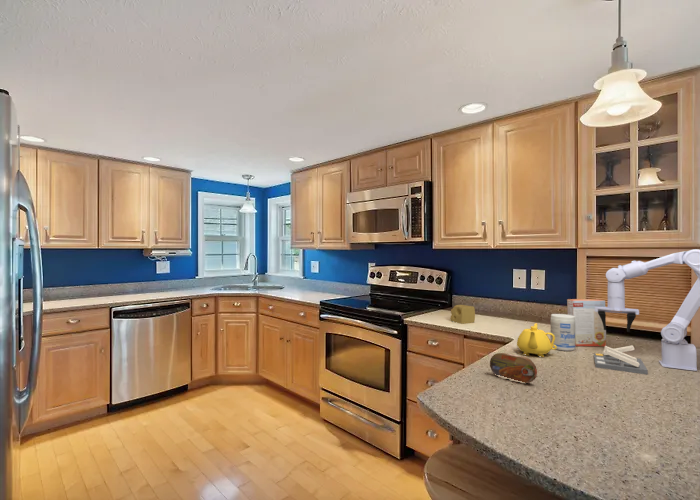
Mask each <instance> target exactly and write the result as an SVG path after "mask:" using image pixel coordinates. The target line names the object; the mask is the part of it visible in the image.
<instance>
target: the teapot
mask: <svg viewBox="0 0 700 500" xmlns="http://www.w3.org/2000/svg"><path fill="white" fill-rule="evenodd" d="M538 328H539V327H538V323H537V322H536V323H534V324H533V325H532V326H530V328H524V329H523V330H522V331H521V333H520V334H519V336H518V337H517V341H516V346H517V348H518V349H519V350H520V351H521V352H523V354H526V355H525V356H530V354H535V355H537V357H538V356H541V357H540V358H545V355H546V354H548V353H549V352H550V351H552V350H553V351H556V350H557V346H556V345H553V344H554V341H555V336H554V335H553V334H552V333H551V331H549V332H545V331H544V330H543V329H540V328H539V329H538ZM548 335H549V336H551V335H552V337H553V340H552V343H551V341H550V340H551V338H549V336H548ZM553 346H555V348H553ZM523 354H522V355H523Z"/></svg>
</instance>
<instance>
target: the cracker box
mask: <svg viewBox="0 0 700 500" xmlns="http://www.w3.org/2000/svg"><path fill="white" fill-rule="evenodd" d="M566 301H567V302H566V303H567V304H566V305H567V308H566V309H567V315H572V316H575V347H603V348H604V347H605V346H607V329H606V330H604V327H603V323H602V320H601V318H600V316H599V314H598V312H595V307H606V300H604V299H601V298H600V299H599V298H598V299H597V298H591V299H590V298H572V299H571V298H568V299H566Z"/></svg>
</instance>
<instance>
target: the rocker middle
mask: <svg viewBox="0 0 700 500" xmlns="http://www.w3.org/2000/svg"><path fill="white" fill-rule="evenodd" d="M606 349H607V350H610V351H612V352H615V353H617V354H619V355H622V356H624V357H627V358H629V359H632V360H634V361H637V359H636V358H637V357H634V356H632V355H629V354H627V353H626V352H625V353H624V352H620V351H617V350H615V348H612V347H609V346H607V345H606V346H604V347H603V351H605V350H606Z"/></svg>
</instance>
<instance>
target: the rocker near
mask: <svg viewBox="0 0 700 500" xmlns="http://www.w3.org/2000/svg"><path fill="white" fill-rule="evenodd" d="M604 351H605V350H604ZM605 353H606V354H608V355H610V356H612V357H615V358H617V359H620V360H622V361H624V362H627V363H629V364H632V365H634V366H636V367H639V365H640V364H639V362H636V361H634V360H632V359H629V358H627V357H624V356H622V355H619V354H617V353H615V352H612V351H610V350H607V349H606V351H605Z"/></svg>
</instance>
